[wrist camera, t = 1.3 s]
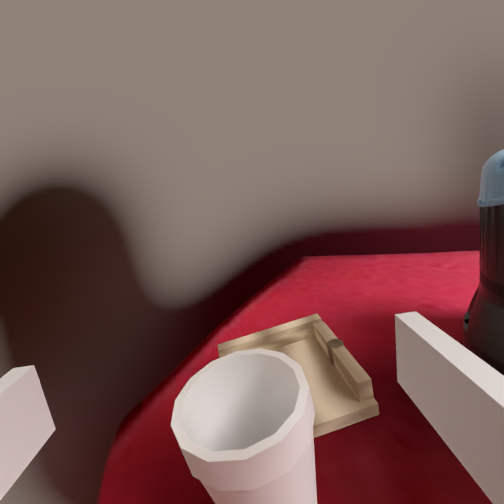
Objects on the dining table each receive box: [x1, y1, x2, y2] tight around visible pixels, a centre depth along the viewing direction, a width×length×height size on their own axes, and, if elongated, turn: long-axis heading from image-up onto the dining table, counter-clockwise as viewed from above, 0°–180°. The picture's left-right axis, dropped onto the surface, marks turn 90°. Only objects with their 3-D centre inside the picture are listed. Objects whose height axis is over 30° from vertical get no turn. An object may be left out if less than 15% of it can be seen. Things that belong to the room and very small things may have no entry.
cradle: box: [218, 314, 379, 438], centre depth 37 cm, size 16×15×4 cm
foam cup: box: [171, 348, 317, 504], centre depth 22 cm, size 10×9×13 cm
